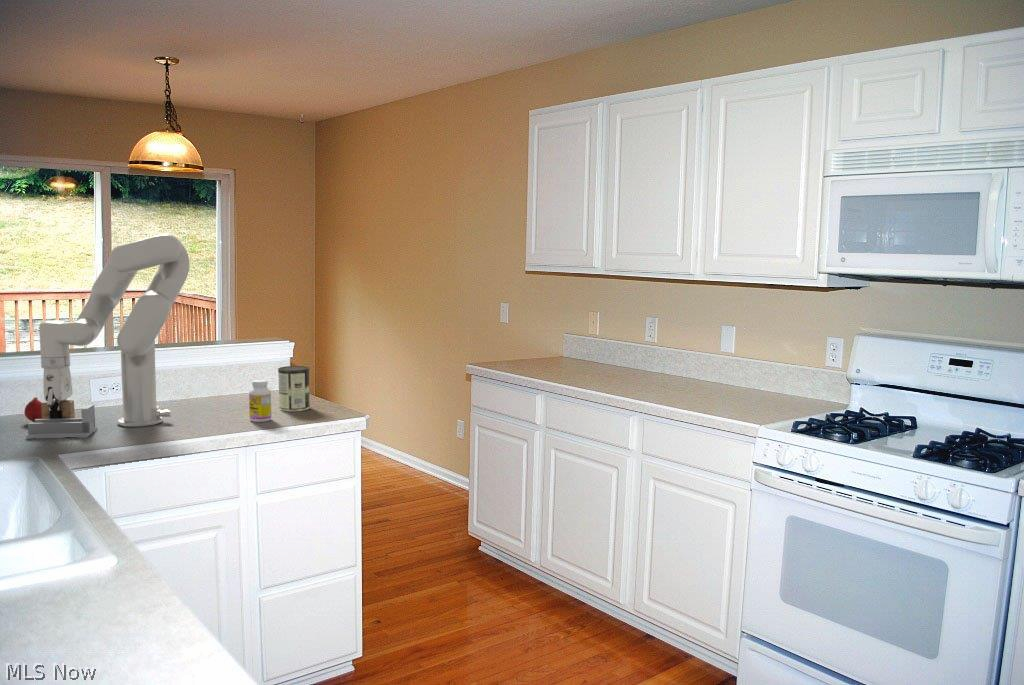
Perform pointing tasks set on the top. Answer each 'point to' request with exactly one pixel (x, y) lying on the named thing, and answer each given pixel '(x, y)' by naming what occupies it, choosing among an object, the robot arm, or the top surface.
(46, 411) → the door slab
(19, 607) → the top surface
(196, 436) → the top surface
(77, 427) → the track
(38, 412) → the onion
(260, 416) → the supplement bottle
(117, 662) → the top surface
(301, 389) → the coffee can
